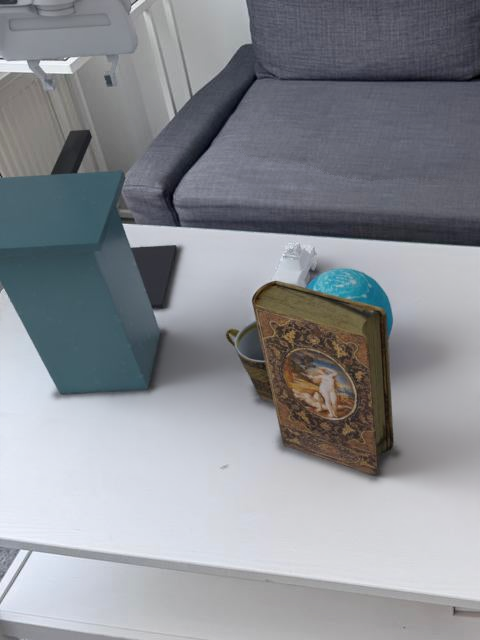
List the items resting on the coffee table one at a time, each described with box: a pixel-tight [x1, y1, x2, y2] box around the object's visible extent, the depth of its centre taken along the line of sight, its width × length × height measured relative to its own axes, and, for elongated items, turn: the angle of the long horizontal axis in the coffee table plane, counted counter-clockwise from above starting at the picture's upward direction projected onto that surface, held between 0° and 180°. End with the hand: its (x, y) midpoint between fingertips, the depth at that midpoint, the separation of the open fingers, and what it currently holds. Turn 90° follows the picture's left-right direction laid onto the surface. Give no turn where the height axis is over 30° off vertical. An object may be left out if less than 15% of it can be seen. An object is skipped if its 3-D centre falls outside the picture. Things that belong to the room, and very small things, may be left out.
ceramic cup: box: [225, 320, 274, 405], centre depth 113 cm, size 13×10×10 cm
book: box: [251, 280, 395, 476], centre depth 99 cm, size 16×6×25 cm, turn 65°
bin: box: [0, 206, 161, 395], centre depth 112 cm, size 14×14×26 cm
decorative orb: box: [305, 267, 394, 341], centre depth 115 cm, size 15×15×15 cm
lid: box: [0, 129, 127, 257], centre depth 105 cm, size 31×18×1 cm, turn 2°
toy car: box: [270, 241, 318, 288], centre depth 131 cm, size 6×12×7 cm, turn 167°
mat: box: [131, 244, 178, 309], centre depth 136 cm, size 18×13×1 cm
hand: (81, 87), depth 116 cm, fingers open, 8 cm apart
